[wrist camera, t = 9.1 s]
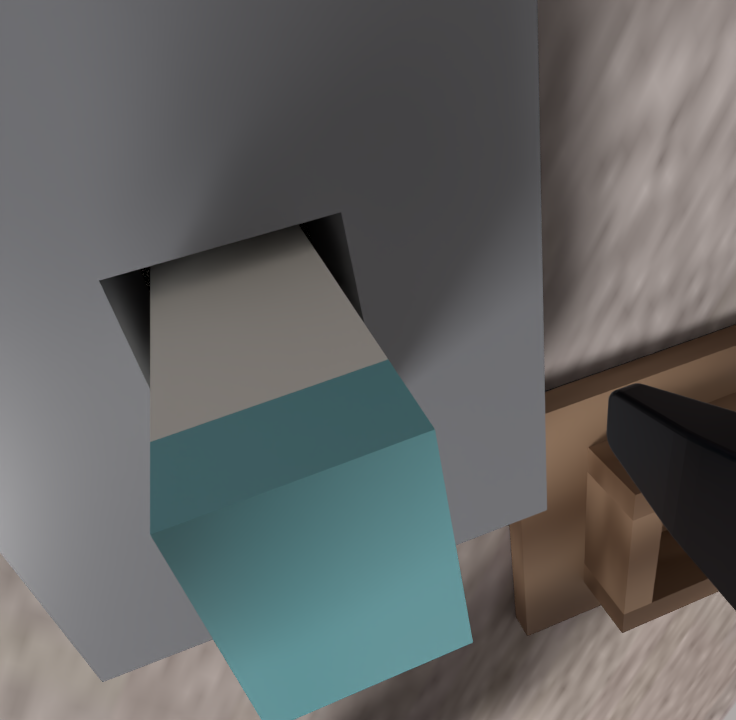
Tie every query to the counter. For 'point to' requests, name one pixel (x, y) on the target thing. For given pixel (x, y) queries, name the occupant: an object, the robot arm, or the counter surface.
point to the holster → (611, 501)
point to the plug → (294, 479)
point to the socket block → (245, 220)
